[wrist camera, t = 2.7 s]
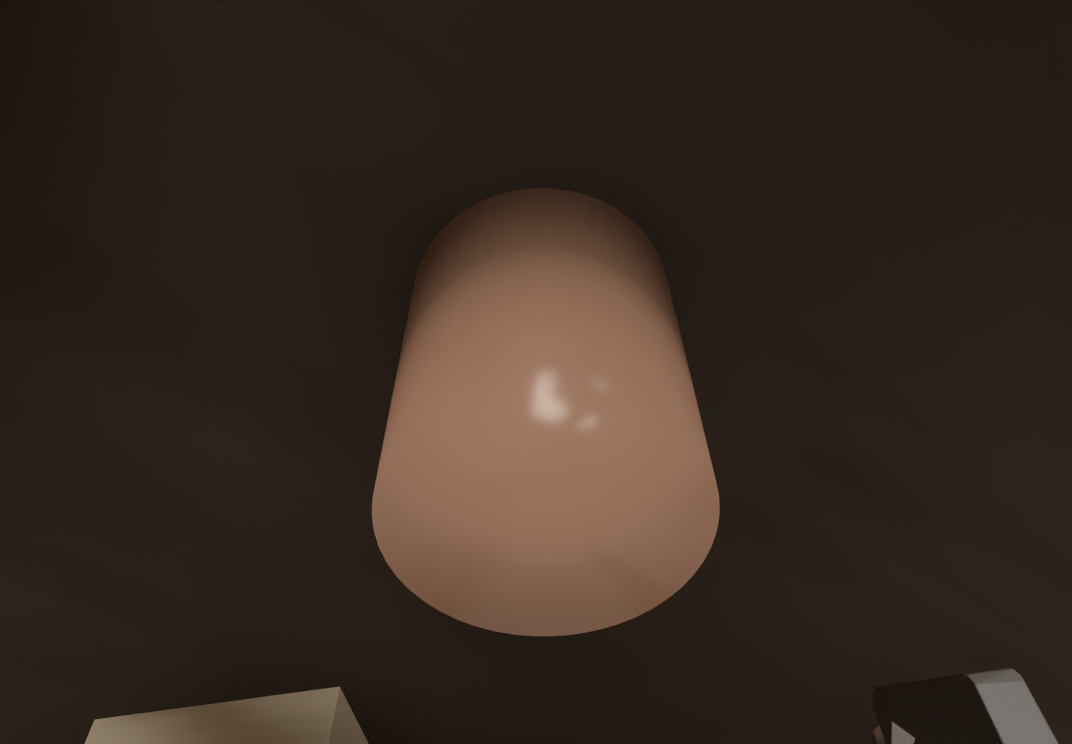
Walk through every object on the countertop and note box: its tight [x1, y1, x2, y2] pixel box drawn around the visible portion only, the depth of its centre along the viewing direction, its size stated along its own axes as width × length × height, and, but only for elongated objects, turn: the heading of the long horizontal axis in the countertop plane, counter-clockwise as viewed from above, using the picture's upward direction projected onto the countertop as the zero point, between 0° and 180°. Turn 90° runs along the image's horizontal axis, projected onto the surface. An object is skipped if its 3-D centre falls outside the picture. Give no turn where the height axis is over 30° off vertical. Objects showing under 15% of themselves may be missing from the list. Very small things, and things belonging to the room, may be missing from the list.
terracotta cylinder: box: [372, 188, 720, 636], centre depth 16 cm, size 5×5×6 cm
